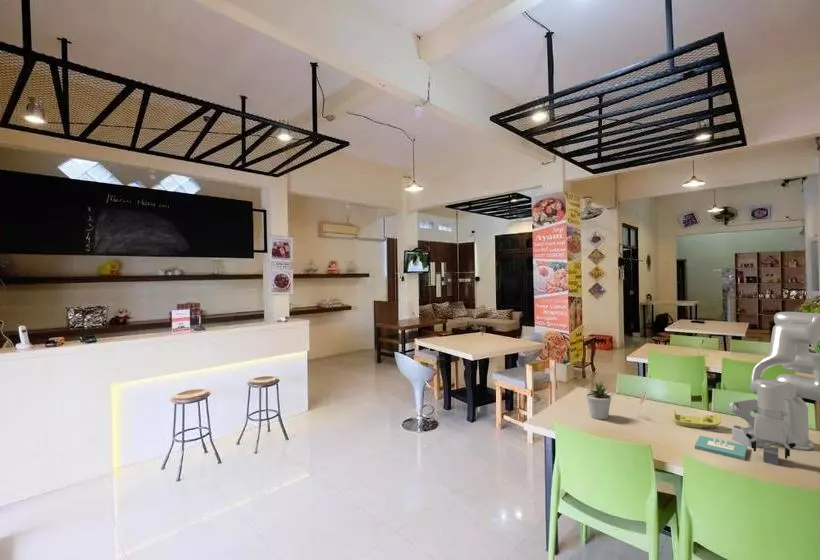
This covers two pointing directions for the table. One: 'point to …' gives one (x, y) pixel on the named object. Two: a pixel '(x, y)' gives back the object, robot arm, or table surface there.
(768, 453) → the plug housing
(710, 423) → the plastic component
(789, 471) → the table surface
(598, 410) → the potted plant
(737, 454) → the board
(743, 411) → the phone holder
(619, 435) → the table surface
